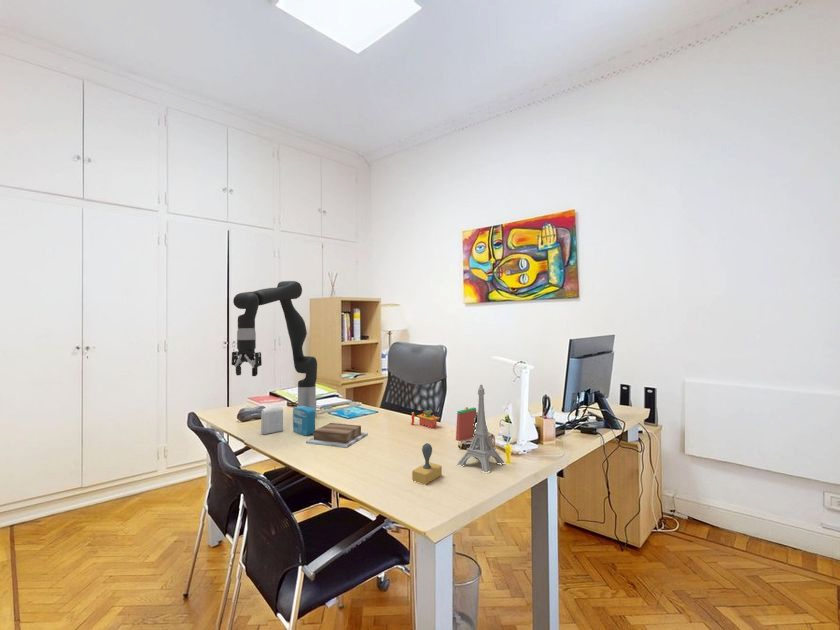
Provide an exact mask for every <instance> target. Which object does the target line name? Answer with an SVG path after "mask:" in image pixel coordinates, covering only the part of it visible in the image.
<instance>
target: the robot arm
mask: <svg viewBox="0 0 840 630" xmlns="http://www.w3.org/2000/svg"><path fill="white" fill-rule="evenodd" d="M302 293H303V288H302V284H301V282H298V281H295V280H283V281H279V282H278V283H277V287H267V288H261V289H258V290H254V291H245V292H239V293H237V294H235V296H234V297H233V299H232V300H233V301H232V303H233V305H234V306H235V308H237V309H240V310H244V313H243V314H240V315H238V316H237V330H236V349H237V351H232V352H231V363H230V364H231V366H234V367H235V375H236V376H241V375H242V365H243V363H244V362H245V363H248V364H249V365H250V366H251V376H252V377H257V376H258V370H259V369H258V368H259V367H261V366H262V363H263V362H262V361H263V360H262V352H261V351H259V352H258V351H257V352H256V351H255V350H256V349H257V348H256V347H257V341H256V340H257V337H256V317H257V314H258V309H259V306H264V305H267V304H270V303H275V302H277V301H279V303H280V305H281V308H282V309H281V310H282V311H283V316H284V319H285V324H286V329H287V333H288V337H289V341H290V345H291V346H290V347H291V351H292V359H293V365H294V366H293V367H294V370H295V371H296V372H297V373H298V374H305V378H303V379H300V380H299V381H297V406H306V407H310V408H314V409H315V418H316V417H317V397H316V396H317V395H316V390H317V389H316V382H317V379H318V360H317V359H316V357H315V356H308V355H307V356H306V355H304V351H303V345H304V343H305V340H306V337H307V335H308V331H307V326H306V323H305V320H304V318H303V317H302V316H301V314H300V313H299V312H298V311H297V309H296V307H294V305H293V301H292V300H297V299H299V298H300V297H301V296H302Z"/></svg>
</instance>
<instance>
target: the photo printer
mask: <svg viewBox="0 0 840 630" xmlns="http://www.w3.org/2000/svg"><path fill="white" fill-rule="evenodd" d="M260 414H261V416H260V417H261V418H260V419H261V420H260V422H261V423H260V426H261V427H260V432H261V435H267V434H272V433H277V432H282V431H284V408H283V406H280V405H270V406H266V407H263V408H262V409H261V412H260Z"/></svg>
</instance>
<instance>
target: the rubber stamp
mask: <svg viewBox="0 0 840 630" xmlns="http://www.w3.org/2000/svg"><path fill="white" fill-rule="evenodd" d="M421 452H422V455H423V458H424V461H425V462H424V464H422V465H420V466H418V467H416V468H414V469H413V470H412V471H411V473H412V474H411V475H412V476H411V477H412V479H411V480H413V481H412V482H414V481H416V482H415V483H417V482H420V483H423V484H422V485H424V484H426V485H427V483H428V484H429V483H431V482H433V481H434V480H437V478H440V477H442V474H443V471H442V469H443V467H442V464H437V463H433V462H430V459H431V456H432V453H433V447H432V445H431V444H430V443H428V442H427V443H424V444H423V445H422V448H421ZM439 476H440V477H439ZM432 480H433V481H432ZM430 481H431V482H430ZM420 483H419V484H420Z"/></svg>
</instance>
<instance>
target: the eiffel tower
mask: <svg viewBox="0 0 840 630" xmlns="http://www.w3.org/2000/svg"><path fill="white" fill-rule="evenodd" d="M485 393H486V392H485V388H484V386H483V384H479V387H478V390H477V394H478V405H477V424H476V431H475V432H474V434H475V435H474V437H472V441H471V443H470V445H469V447H467V448H466V452H465V453H464V455H463V456H462V457H461V458H460V460H459V461H458V462H457V463H456V464H457V465H461V466H463V465H465V464H466V465H467V461H468V460H469V459H470V458H472V457H476V458H478V459H477V460H479V462H480V464H481V471H484V472H488V471H491V469H490V464H489V463H490V459H491V457H492V458H493V459H494V460H495V462H496V463H501V464H502V463H504V462H505V461H504V460H503V458H502V457H501V456H500V454H499V453H498V451H497V450H496V449H497V448H496V447H494V446H493V444H492V442H491V440H490V436H489V433H490V432H489V431H488V428H487V422H486V414H485V399H484V398H485ZM457 465H456V466H457ZM466 465H465V466H466ZM461 466H460V467H461ZM463 467H464V466H463Z"/></svg>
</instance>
